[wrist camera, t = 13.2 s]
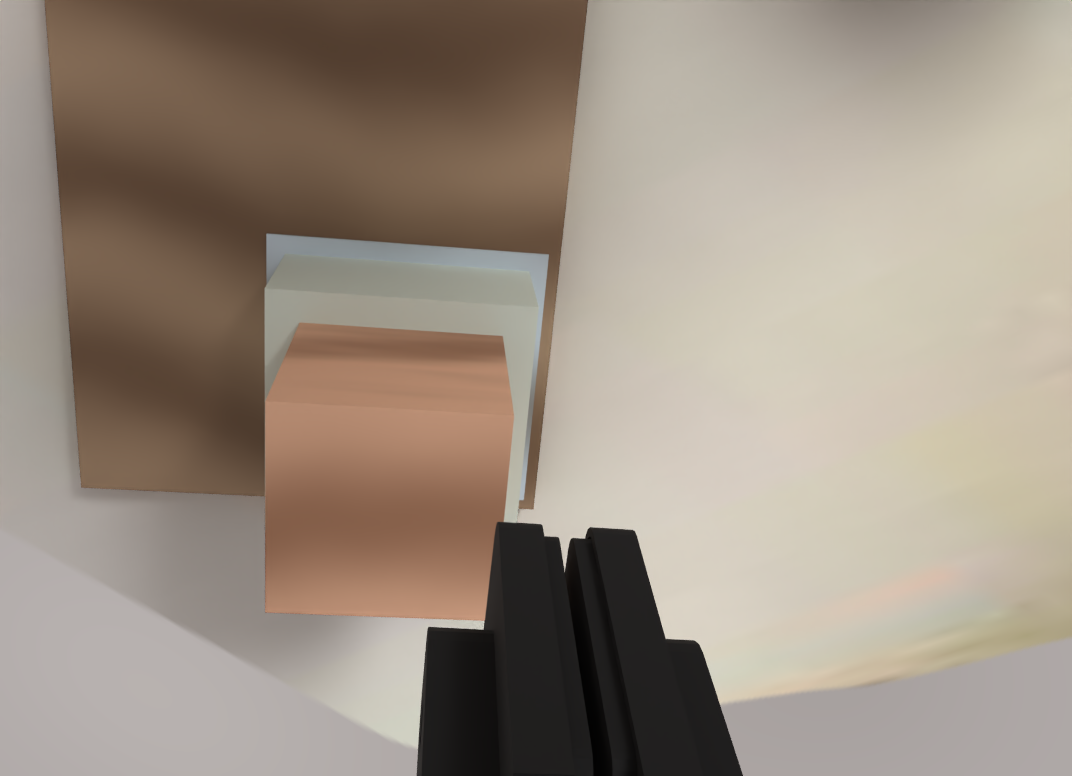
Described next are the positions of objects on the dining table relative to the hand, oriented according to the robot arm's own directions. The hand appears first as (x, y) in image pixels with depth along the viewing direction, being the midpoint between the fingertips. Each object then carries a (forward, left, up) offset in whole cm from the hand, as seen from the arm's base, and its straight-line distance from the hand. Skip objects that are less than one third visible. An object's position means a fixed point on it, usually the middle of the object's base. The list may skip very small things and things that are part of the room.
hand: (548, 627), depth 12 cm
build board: (+1, -6, -24) cm, 25 cm away
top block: (+6, -3, -19) cm, 20 cm away
